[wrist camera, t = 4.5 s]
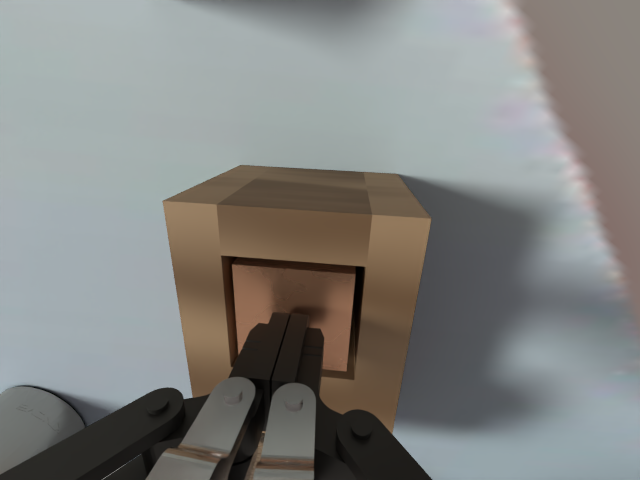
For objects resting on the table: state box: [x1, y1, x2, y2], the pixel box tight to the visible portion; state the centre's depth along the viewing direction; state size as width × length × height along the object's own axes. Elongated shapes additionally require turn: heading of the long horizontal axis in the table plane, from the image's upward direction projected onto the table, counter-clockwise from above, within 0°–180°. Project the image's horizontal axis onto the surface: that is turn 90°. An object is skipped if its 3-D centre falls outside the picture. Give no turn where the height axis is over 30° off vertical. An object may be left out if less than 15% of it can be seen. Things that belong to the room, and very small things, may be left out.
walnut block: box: [163, 165, 431, 434], centre depth 19 cm, size 20×10×9 cm, turn 178°
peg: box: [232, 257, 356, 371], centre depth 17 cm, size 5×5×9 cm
